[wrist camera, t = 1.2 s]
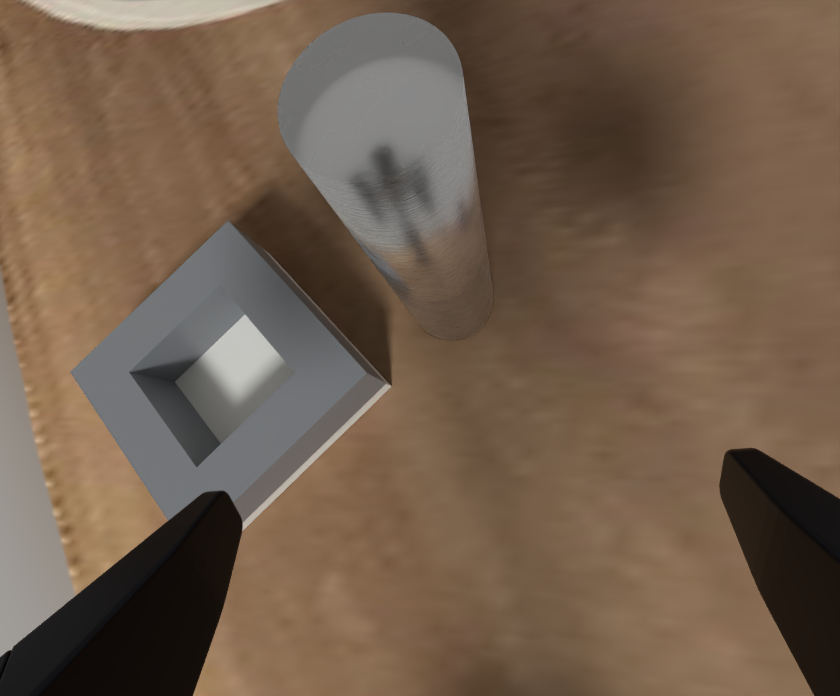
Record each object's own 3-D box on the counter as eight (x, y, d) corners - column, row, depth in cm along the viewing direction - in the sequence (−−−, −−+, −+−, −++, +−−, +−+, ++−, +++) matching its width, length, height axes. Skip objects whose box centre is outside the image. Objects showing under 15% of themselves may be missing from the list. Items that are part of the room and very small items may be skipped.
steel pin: (450, 357, 23) (358, 219, 9) (395, 301, 24) (243, 107, 10) (511, 299, 23) (505, 78, 9) (453, 246, 24) (374, -18, 11)
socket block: (241, 532, 23) (186, 548, 19) (136, 384, 26) (70, 371, 22) (391, 386, 23) (367, 372, 19) (270, 255, 26) (227, 220, 22)
